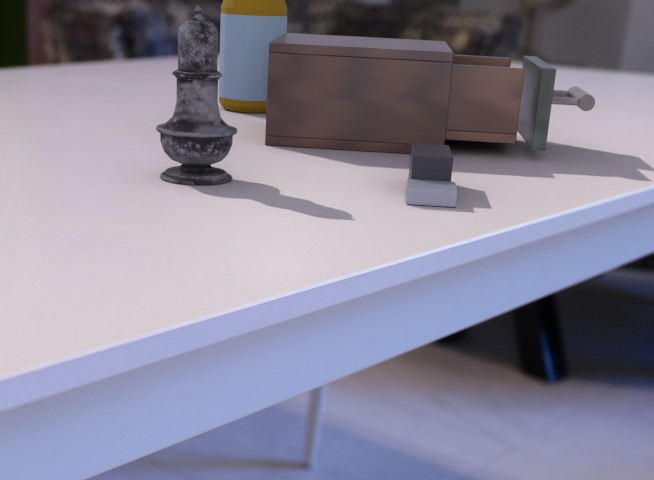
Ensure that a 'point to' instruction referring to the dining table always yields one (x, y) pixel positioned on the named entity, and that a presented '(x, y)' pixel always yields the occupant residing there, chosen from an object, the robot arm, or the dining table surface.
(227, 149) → the salt shaker
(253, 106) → the bottle
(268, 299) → the dining table surface
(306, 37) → the cabinet
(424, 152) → the grey stepped block
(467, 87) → the drawer
